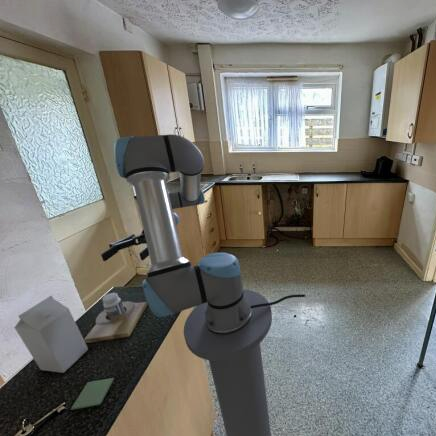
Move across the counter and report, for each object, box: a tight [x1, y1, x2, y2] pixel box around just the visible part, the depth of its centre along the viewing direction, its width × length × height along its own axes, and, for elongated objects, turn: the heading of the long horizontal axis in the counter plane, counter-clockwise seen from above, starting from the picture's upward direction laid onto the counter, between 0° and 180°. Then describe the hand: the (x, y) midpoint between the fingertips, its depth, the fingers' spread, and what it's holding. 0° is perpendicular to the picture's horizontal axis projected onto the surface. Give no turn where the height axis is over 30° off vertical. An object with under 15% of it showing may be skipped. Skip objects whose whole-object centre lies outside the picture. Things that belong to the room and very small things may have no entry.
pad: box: [70, 377, 115, 411], centre depth 56 cm, size 6×6×1 cm
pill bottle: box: [102, 292, 126, 320], centre depth 78 cm, size 5×5×8 cm
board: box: [83, 300, 149, 344], centre depth 78 cm, size 14×16×2 cm
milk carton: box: [14, 295, 89, 374], centre depth 62 cm, size 7×7×19 cm
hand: (122, 257), depth 82 cm, fingers open, 13 cm apart
